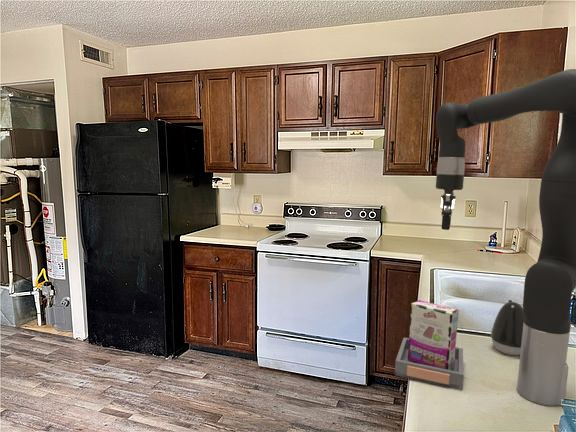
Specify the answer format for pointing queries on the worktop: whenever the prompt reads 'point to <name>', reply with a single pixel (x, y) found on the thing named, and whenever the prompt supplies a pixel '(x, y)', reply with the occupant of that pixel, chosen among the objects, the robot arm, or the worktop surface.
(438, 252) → the worktop surface
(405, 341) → the labelled tray
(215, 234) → the worktop surface
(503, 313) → the black rounded cone
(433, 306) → the candy bar box
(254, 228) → the worktop surface
